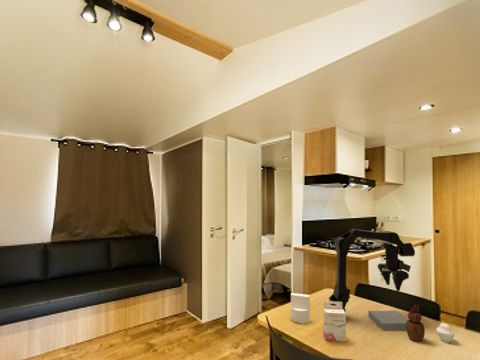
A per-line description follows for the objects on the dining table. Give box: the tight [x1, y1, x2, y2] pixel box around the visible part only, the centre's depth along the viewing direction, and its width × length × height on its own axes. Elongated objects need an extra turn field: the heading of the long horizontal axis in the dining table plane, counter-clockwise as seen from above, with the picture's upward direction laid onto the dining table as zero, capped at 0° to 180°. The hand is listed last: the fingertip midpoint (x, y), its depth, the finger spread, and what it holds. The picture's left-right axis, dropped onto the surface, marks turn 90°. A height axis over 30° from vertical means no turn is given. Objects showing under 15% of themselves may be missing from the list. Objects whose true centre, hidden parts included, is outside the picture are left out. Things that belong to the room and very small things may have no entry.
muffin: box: [436, 322, 455, 343], centre depth 117 cm, size 6×6×7 cm
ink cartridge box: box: [322, 300, 347, 342], centre depth 119 cm, size 9×5×15 cm, turn 84°
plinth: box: [367, 310, 409, 331], centre depth 133 cm, size 14×14×3 cm
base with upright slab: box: [290, 292, 311, 324], centre depth 137 cm, size 9×9×12 cm
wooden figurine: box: [405, 303, 426, 342], centre depth 118 cm, size 7×6×15 cm
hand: (392, 287), depth 139 cm, fingers open, 9 cm apart
